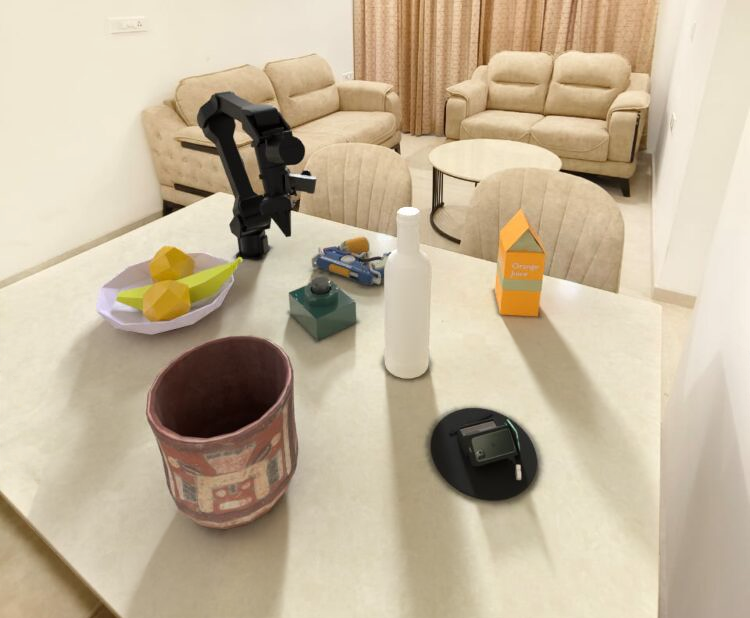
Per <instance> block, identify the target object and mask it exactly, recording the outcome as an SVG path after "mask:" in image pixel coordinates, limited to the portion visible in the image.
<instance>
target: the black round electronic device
mask: <svg viewBox="0 0 750 618" xmlns="http://www.w3.org/2000/svg"><path fill="white" fill-rule="evenodd" d="M430 454H431V458H432V461H433V464H434V466H435V468H436V469H437V471H438V473H439V474H440V476H441V477H442V478H443V479H444V481H446V482H447V483H448V484H449V485H450V486H451V487H452V488H454V489H456V490H457V491H459V492H460V493H462V494H464V495H466V496H469V497H472V498H474V499H478V500H483V501H491V502H492V501H493V502H494V501H495V502H497V501H504V500H508V499H511V498H512V499H513V498H515V497H517V496H519V495H520V494H522V493H523V492H525V491H526V490H527V489H528V488H529V486H530V485H531V484H532V482H533V480H534V478H535V475H536V473H537V469H538V457H537V451H536V448H535V446H534V443H533V442H532V440H531V438H530V437H529V435H528V433H527V432H526V431H525V430H524V428H522V427H521V426H520V425H519V424H518V423H517V422H515V421H514V420H513V419H512V418H510V417H508V416H506V415H505V414H503V413H500V412H497V411H494V410H491V409H488V408H482V407H481V408H480V407H467V408H461V409H457V410H455V411H452V412H450V413H448V414H446V415H445V416H443V418H442V419H440V421H439V422H437V424H436V426H435V427H434V429H433V431H432V434H431V438H430Z"/></svg>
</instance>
